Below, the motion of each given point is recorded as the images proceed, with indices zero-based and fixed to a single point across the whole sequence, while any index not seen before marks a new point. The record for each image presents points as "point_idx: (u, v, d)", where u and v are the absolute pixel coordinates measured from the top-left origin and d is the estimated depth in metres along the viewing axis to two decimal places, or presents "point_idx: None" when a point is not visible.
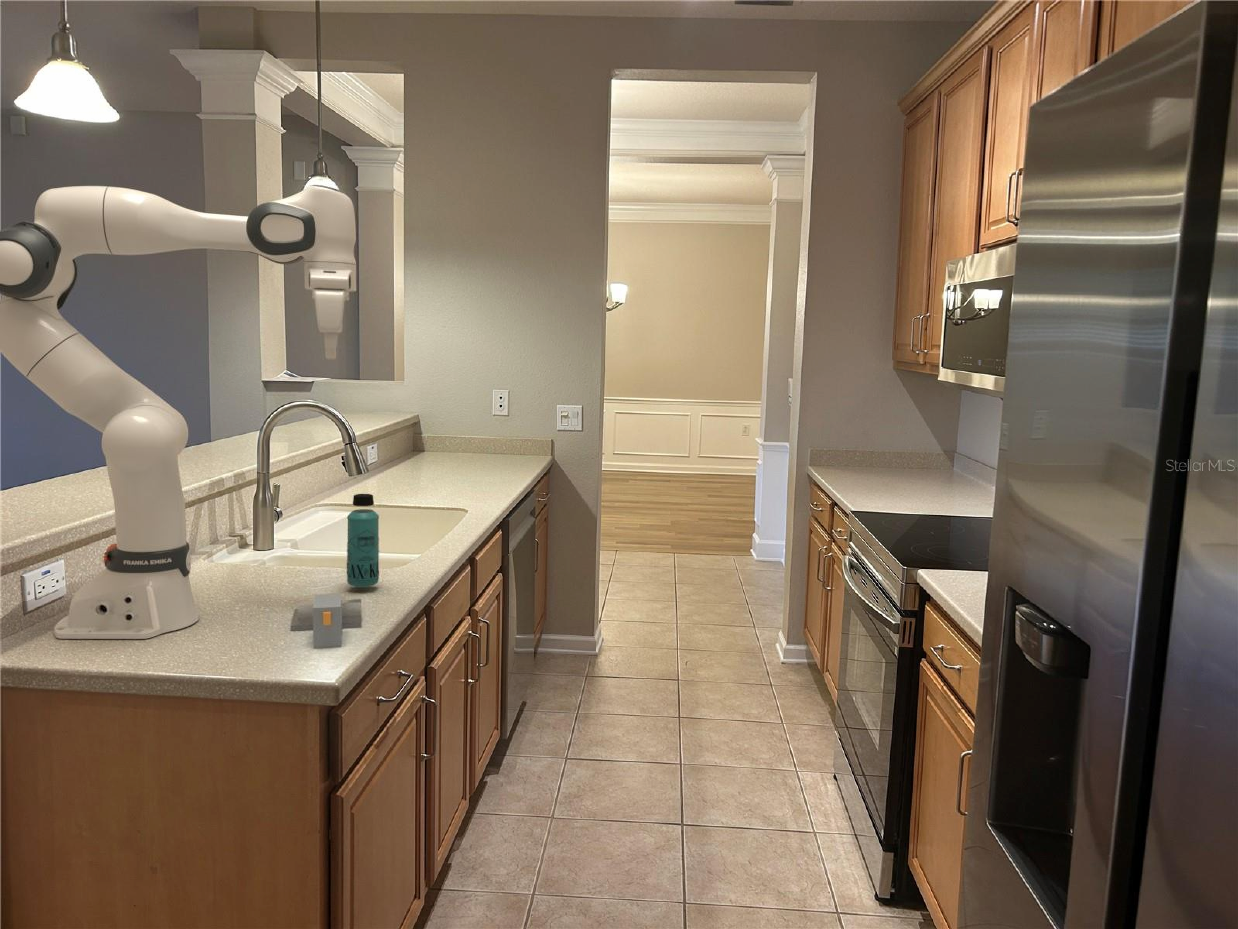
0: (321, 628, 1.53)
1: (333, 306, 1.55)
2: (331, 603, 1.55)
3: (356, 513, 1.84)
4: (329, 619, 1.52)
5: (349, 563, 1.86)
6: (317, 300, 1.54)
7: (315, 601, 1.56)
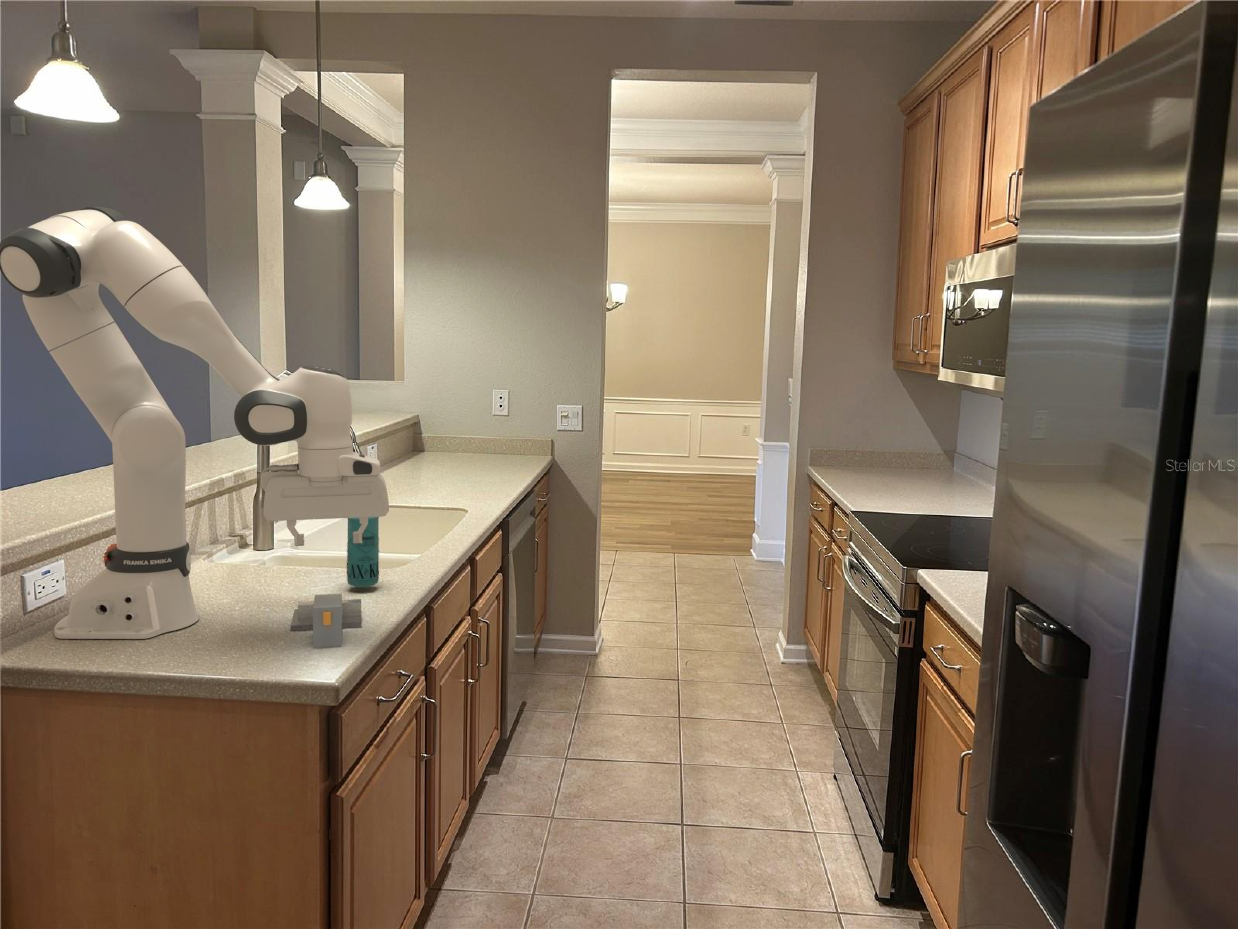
0: (321, 628, 1.53)
1: None
2: (331, 603, 1.55)
3: None
4: (329, 619, 1.52)
5: (349, 563, 1.86)
6: (385, 486, 1.54)
7: (315, 601, 1.56)
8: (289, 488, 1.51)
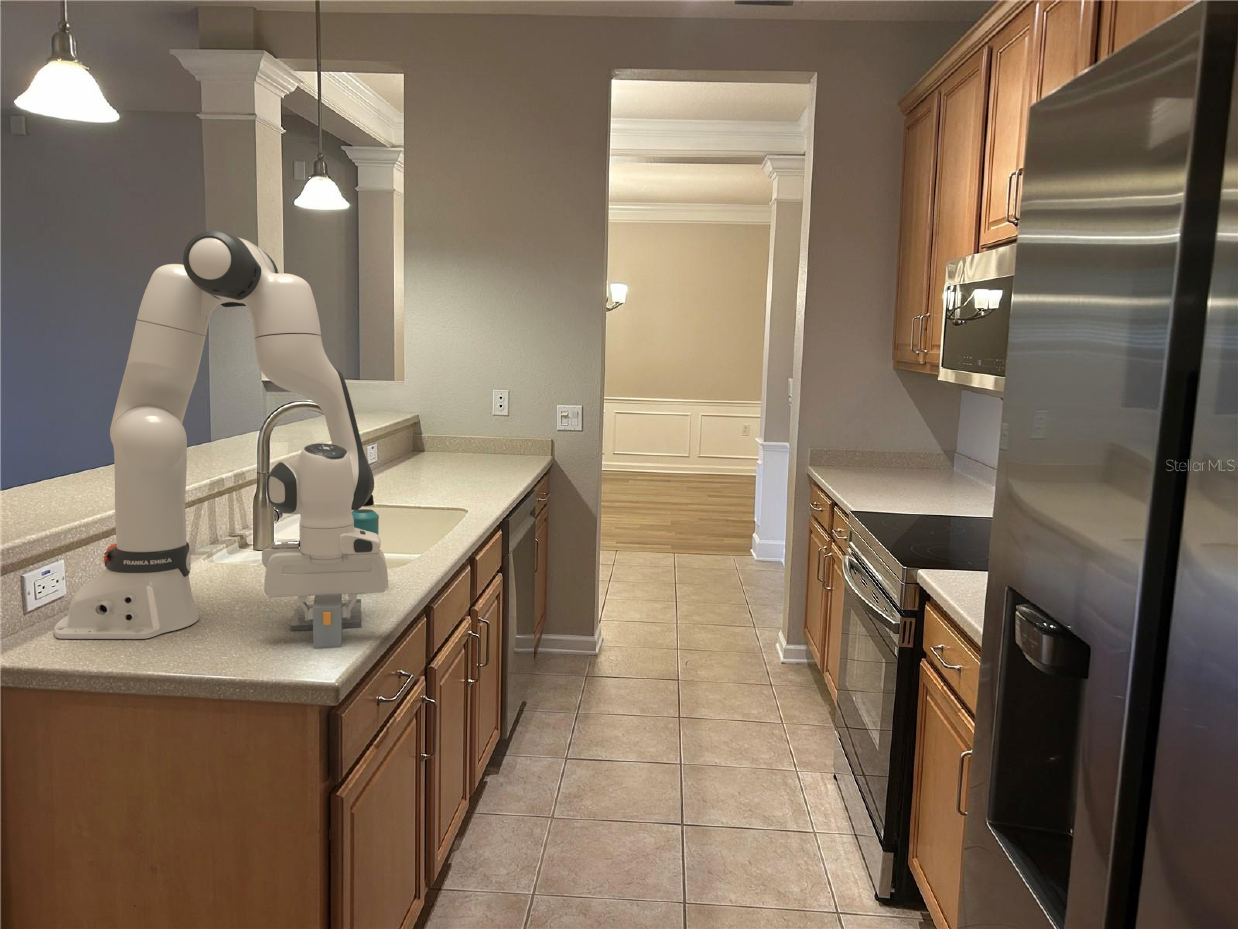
0: (321, 628, 1.53)
1: None
2: (331, 603, 1.55)
3: (356, 513, 1.84)
4: (329, 619, 1.52)
5: None
6: (385, 563, 1.56)
7: (315, 601, 1.56)
8: (290, 565, 1.52)
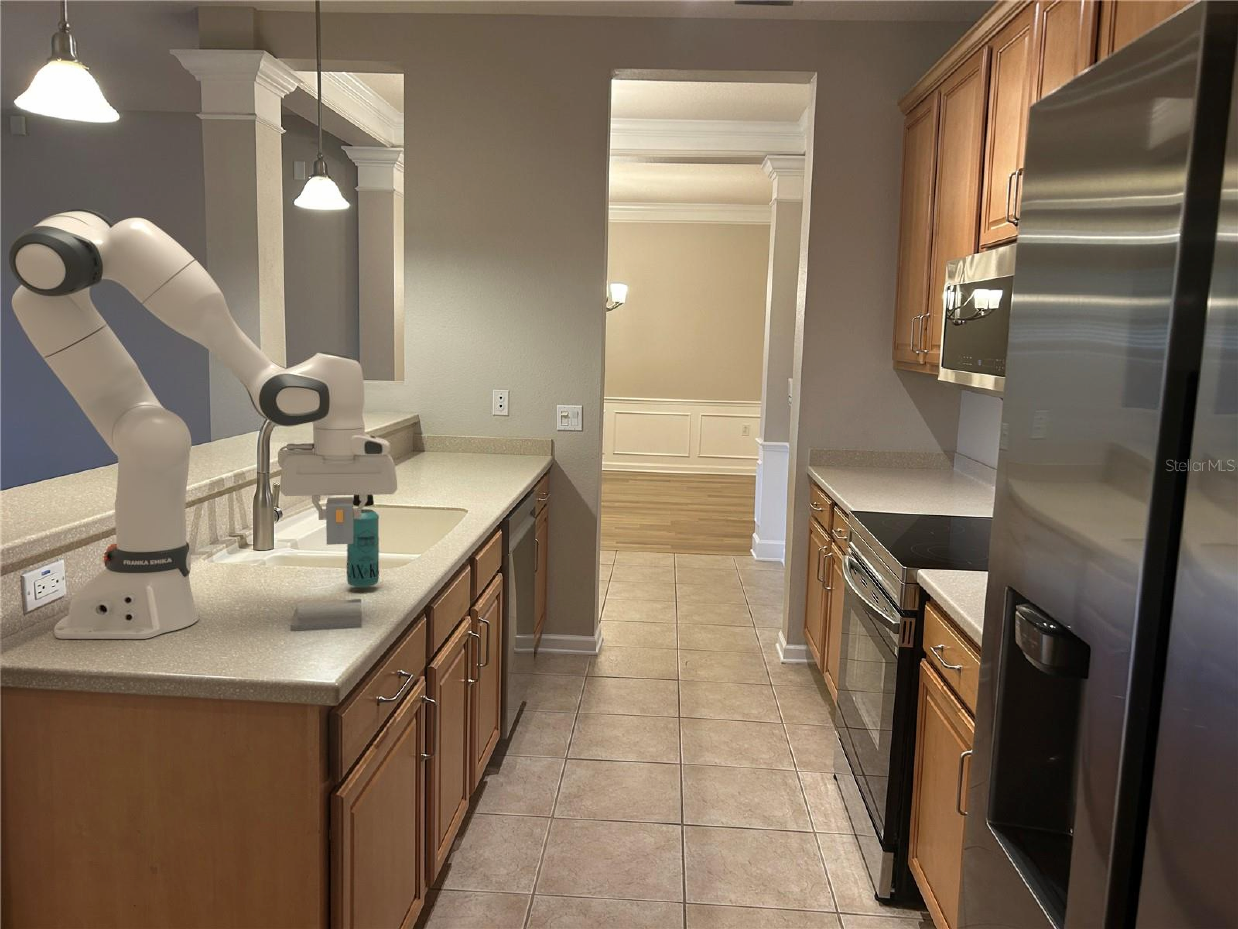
0: (334, 525, 1.62)
1: None
2: (343, 503, 1.64)
3: None
4: (341, 516, 1.61)
5: (349, 563, 1.86)
6: (394, 465, 1.65)
7: (328, 501, 1.64)
8: (304, 465, 1.61)
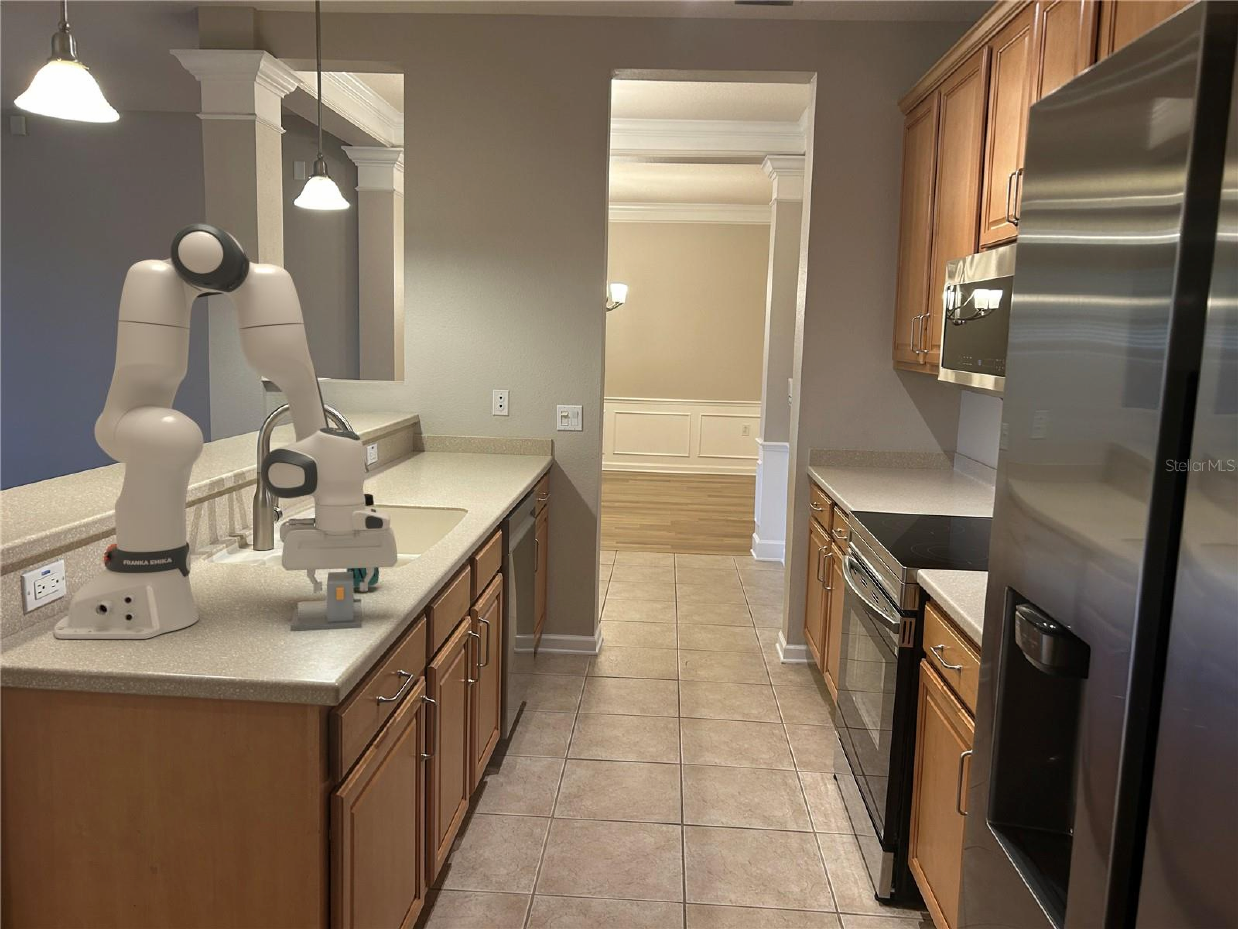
0: (334, 602, 1.64)
1: None
2: (343, 580, 1.66)
3: None
4: (342, 594, 1.63)
5: None
6: (394, 539, 1.67)
7: (329, 578, 1.67)
8: (306, 540, 1.63)
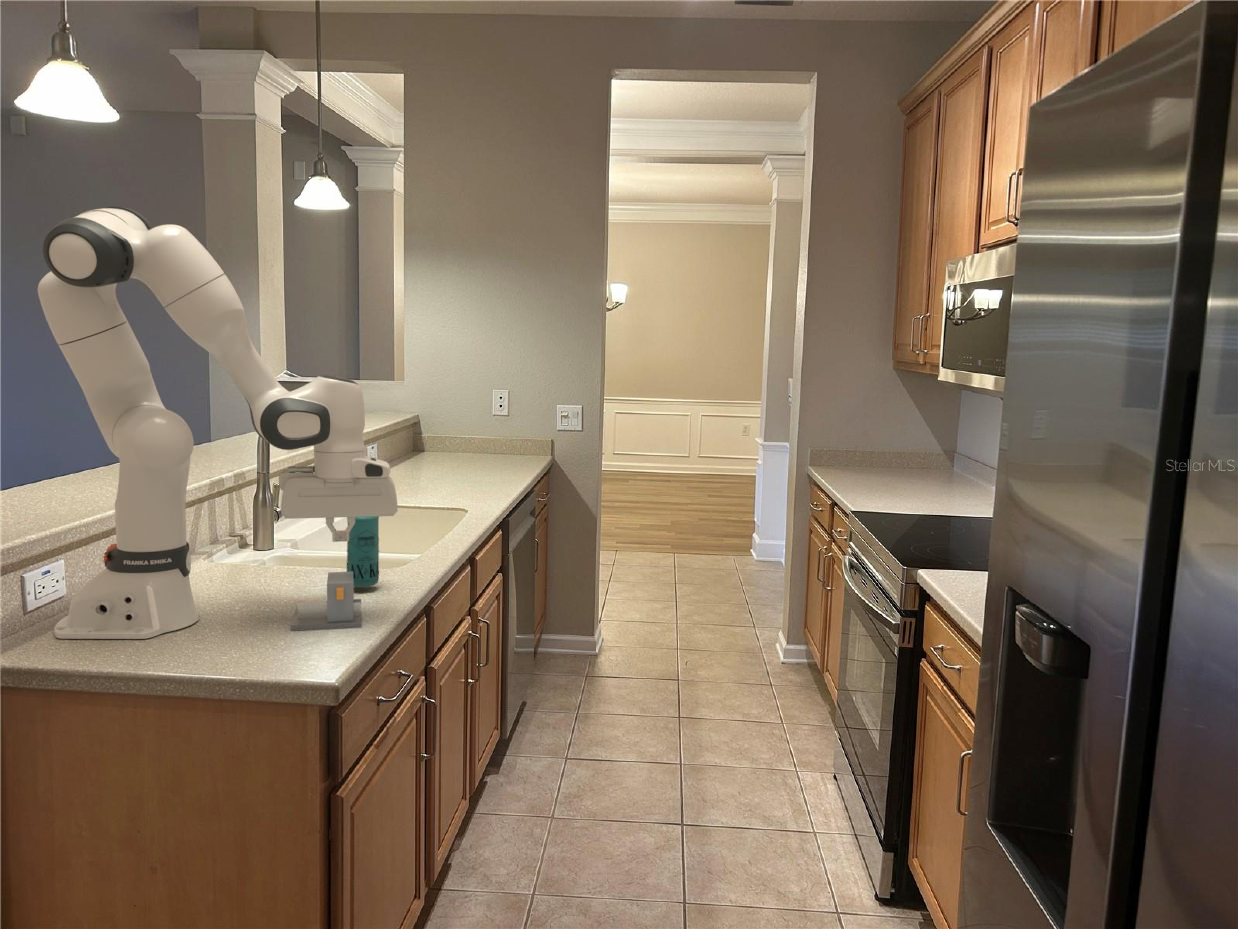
0: (334, 602, 1.64)
1: None
2: (343, 580, 1.66)
3: None
4: (342, 594, 1.63)
5: (349, 563, 1.86)
6: (394, 488, 1.66)
7: (329, 578, 1.67)
8: (305, 488, 1.62)
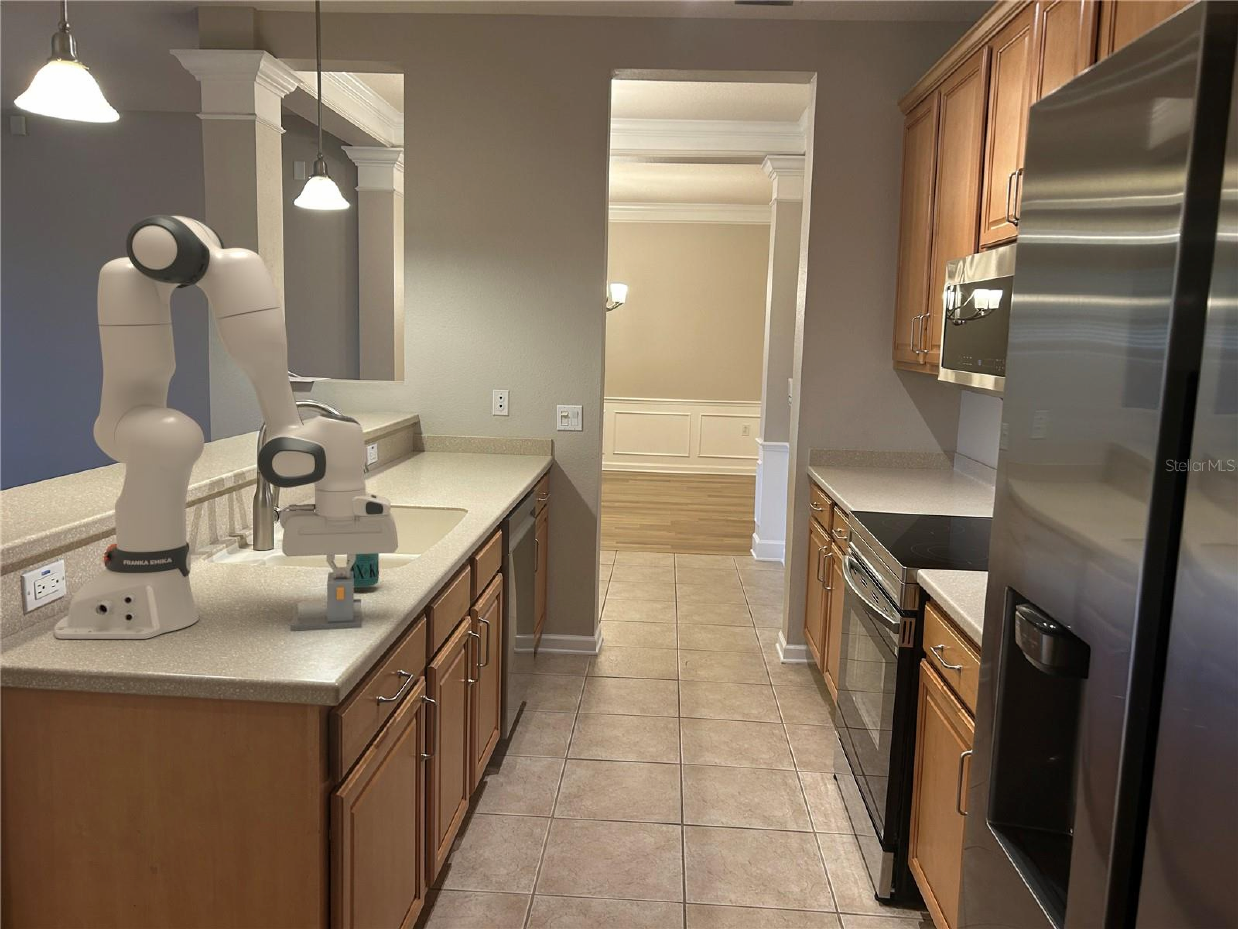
0: (335, 602, 1.64)
1: None
2: (344, 579, 1.66)
3: None
4: (342, 594, 1.63)
5: None
6: (395, 525, 1.67)
7: (329, 578, 1.67)
8: (306, 526, 1.63)
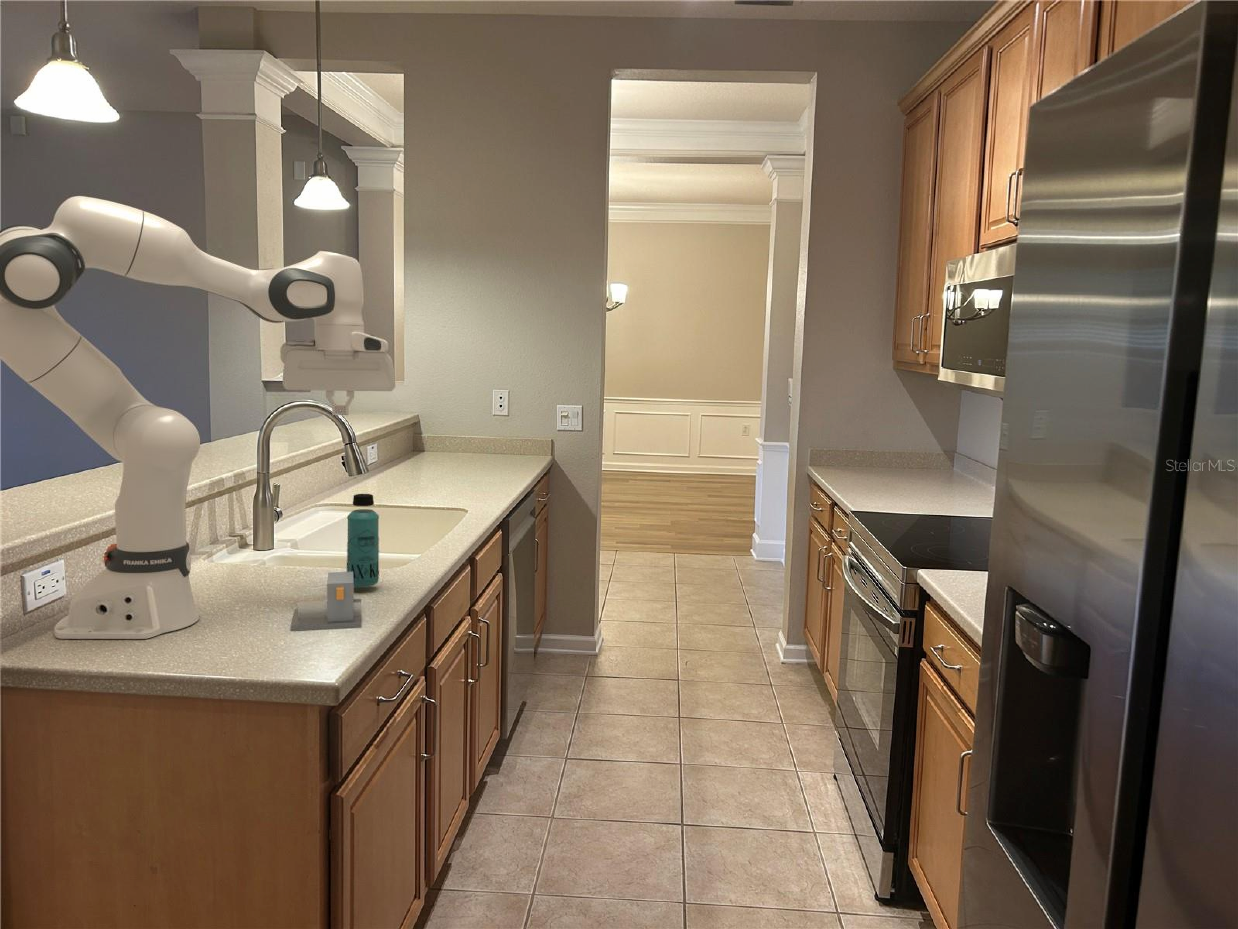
0: (334, 602, 1.64)
1: None
2: (343, 580, 1.66)
3: (356, 513, 1.84)
4: (342, 594, 1.63)
5: (349, 563, 1.86)
6: (392, 363, 1.71)
7: (329, 578, 1.67)
8: (306, 360, 1.67)
